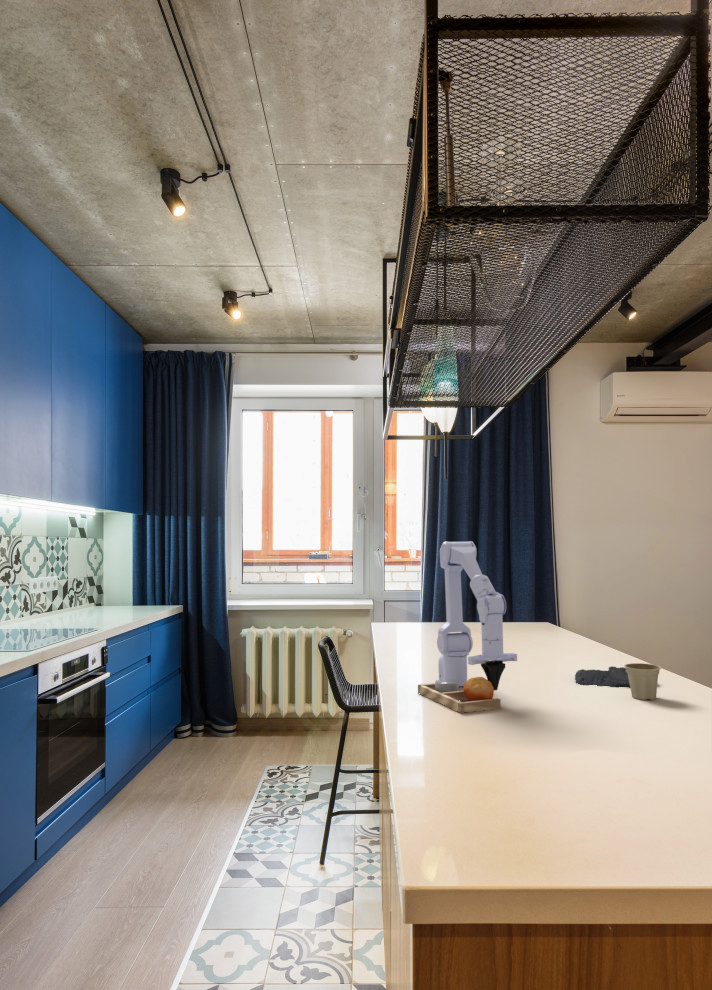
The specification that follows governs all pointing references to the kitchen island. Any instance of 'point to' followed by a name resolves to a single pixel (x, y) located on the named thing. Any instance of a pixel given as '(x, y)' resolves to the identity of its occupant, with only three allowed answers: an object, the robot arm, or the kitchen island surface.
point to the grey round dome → (446, 686)
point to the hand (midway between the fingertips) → (493, 689)
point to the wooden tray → (457, 699)
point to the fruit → (478, 689)
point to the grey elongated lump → (603, 677)
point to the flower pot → (643, 680)
